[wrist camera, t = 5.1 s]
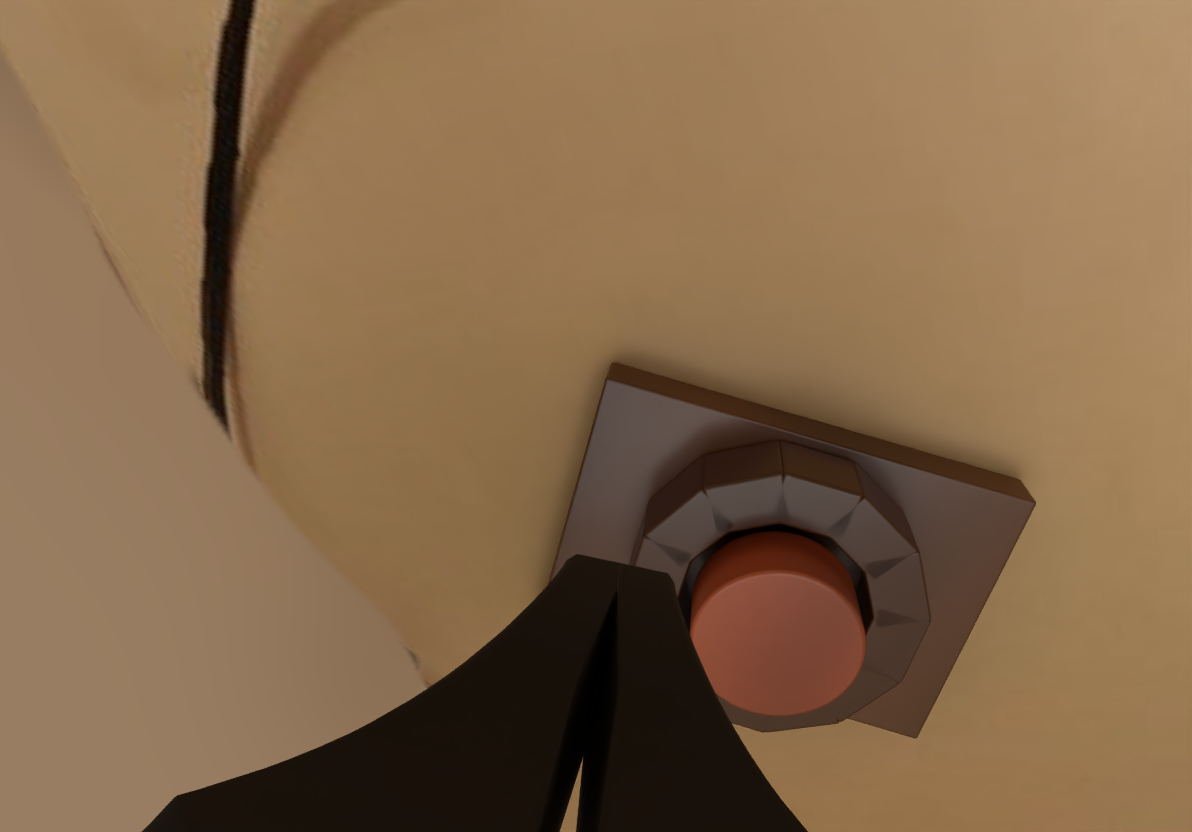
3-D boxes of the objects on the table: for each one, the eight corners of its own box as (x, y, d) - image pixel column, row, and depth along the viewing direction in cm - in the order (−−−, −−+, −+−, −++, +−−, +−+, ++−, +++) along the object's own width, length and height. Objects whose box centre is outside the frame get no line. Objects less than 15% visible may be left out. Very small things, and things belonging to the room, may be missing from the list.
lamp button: (673, 641, 21) (668, 689, 20) (719, 509, 20) (719, 549, 18) (822, 686, 21) (830, 738, 19) (880, 556, 20) (893, 601, 18)
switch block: (544, 600, 24) (521, 669, 22) (612, 360, 22) (595, 405, 19) (908, 708, 24) (932, 793, 21) (1022, 479, 21) (1066, 542, 19)
